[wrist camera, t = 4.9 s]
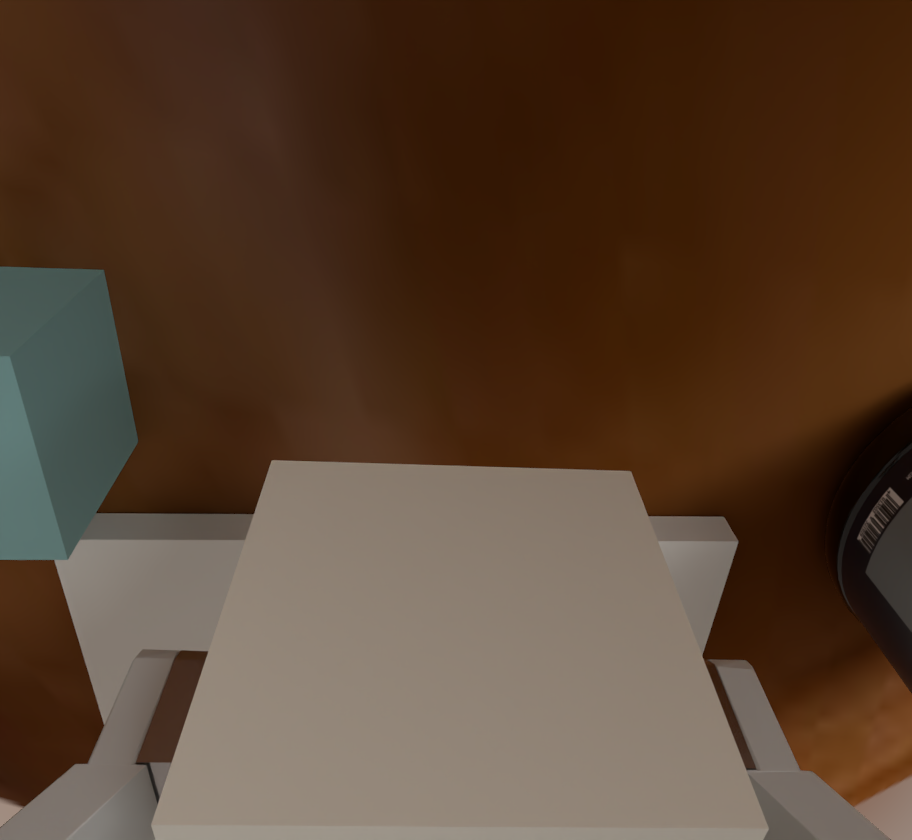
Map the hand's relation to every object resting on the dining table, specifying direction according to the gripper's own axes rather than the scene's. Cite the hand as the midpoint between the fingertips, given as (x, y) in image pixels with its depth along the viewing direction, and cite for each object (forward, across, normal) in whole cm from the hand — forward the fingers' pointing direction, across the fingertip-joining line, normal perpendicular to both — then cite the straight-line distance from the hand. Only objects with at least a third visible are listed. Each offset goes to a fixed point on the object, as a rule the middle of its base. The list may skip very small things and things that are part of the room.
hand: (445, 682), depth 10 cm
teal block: (+11, +11, +1) cm, 15 cm away
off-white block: (+2, 0, 0) cm, 2 cm away
